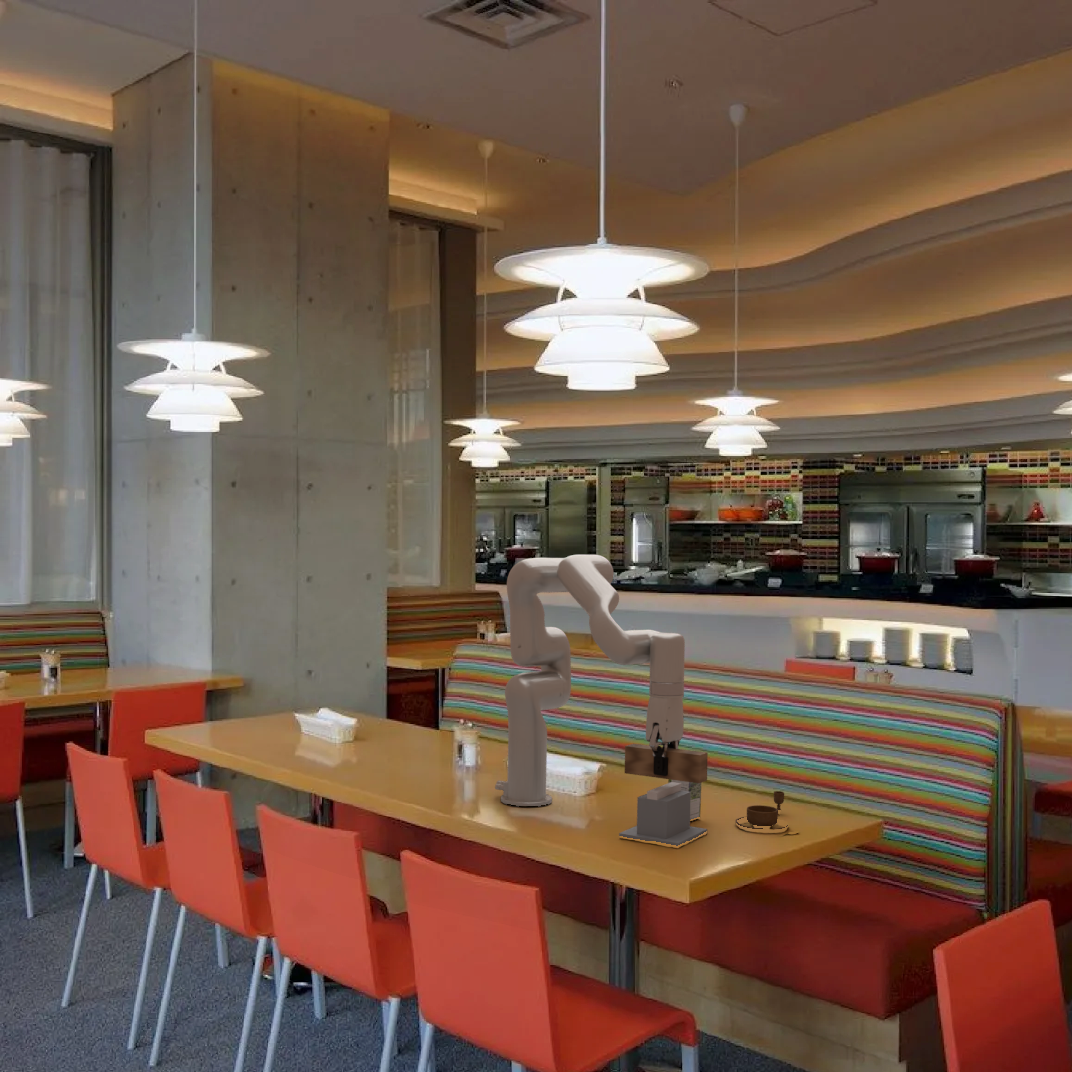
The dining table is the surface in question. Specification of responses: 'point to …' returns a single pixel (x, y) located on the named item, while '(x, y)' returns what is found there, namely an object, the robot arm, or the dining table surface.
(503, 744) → the dining table surface
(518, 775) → the robot arm
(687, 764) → the walnut bar
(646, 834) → the stand
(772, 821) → the place setting
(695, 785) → the syrup box
